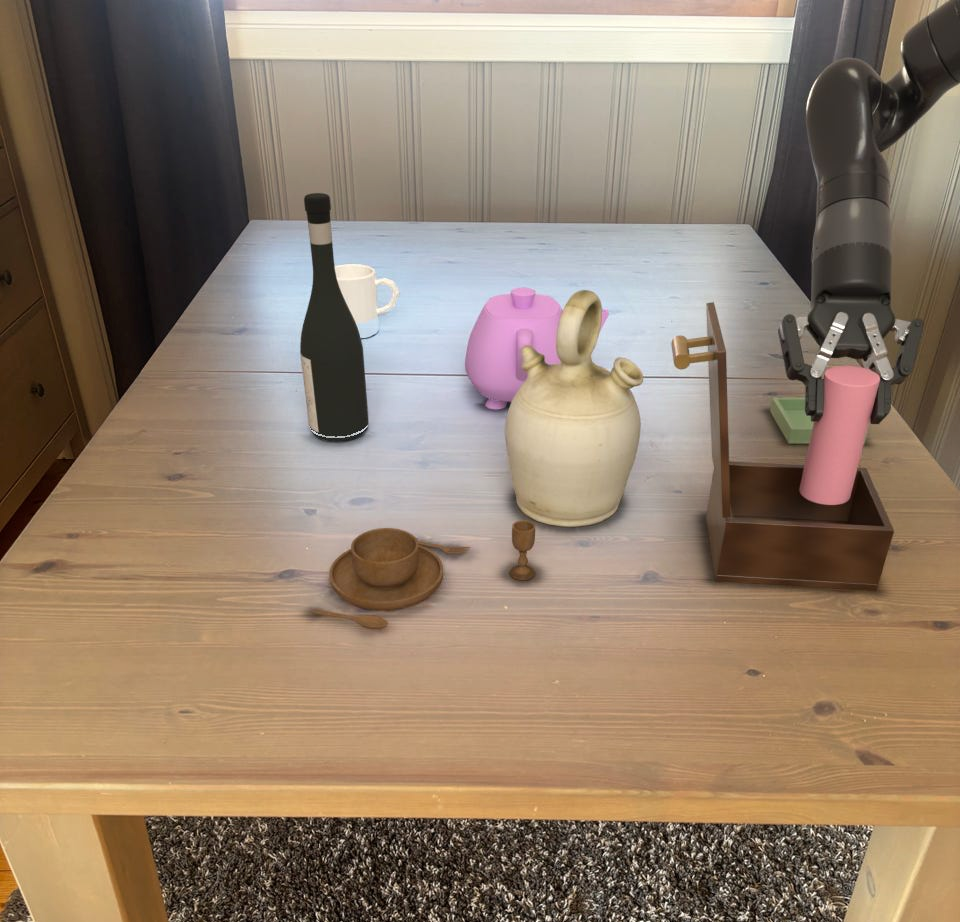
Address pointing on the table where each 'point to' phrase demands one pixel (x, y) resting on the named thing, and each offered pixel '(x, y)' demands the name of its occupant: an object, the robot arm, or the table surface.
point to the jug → (573, 425)
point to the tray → (793, 419)
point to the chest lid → (712, 396)
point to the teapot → (511, 342)
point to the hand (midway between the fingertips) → (847, 419)
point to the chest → (796, 531)
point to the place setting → (402, 570)
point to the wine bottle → (330, 341)
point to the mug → (363, 291)
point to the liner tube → (839, 435)
